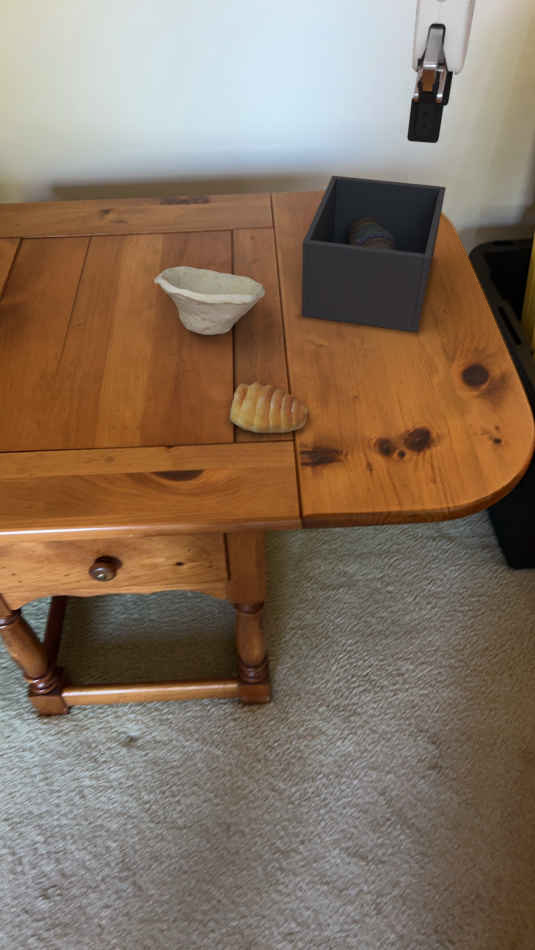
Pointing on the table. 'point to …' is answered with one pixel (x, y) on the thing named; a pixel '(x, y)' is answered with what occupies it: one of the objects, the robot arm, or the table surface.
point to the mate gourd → (370, 234)
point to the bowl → (209, 297)
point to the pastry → (267, 409)
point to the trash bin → (371, 253)
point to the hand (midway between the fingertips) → (428, 121)
